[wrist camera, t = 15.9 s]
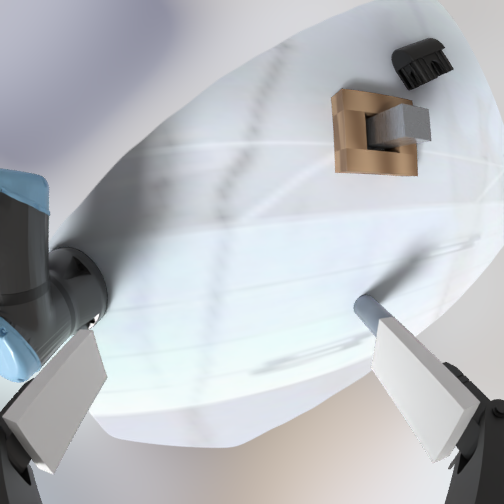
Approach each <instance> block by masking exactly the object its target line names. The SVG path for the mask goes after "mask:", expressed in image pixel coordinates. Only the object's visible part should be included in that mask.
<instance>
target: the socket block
mask: <svg viewBox="0 0 504 504" xmlns="http://www.w3.org/2000/svg"><path fill="white" fill-rule="evenodd" d="M331 102H332V115H333V130H334V150H335V173H359V174H378V175H393V176H418V167H417V145H416V144H411V145H405V146H400V147H395V148H389V149H384V151H376V150H367V138H366V123H365V120H366V119H368V118H371V117H373V116H375V115H377V114H379V113H381V112H384V111H386V110H388V109H390V108H393V107H395V106H397V105H400V104H407V105H412V106H413V102H412V100H408V99H403V98H398V97H393V96H388V95H382V94H377V93H371V92H364V91H357V90H350V89H341V90H340V91H338V92H337V93H336V94H335V95H334V96H333V97H332V98H331Z"/></svg>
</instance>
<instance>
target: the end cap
mask: <svg viewBox="0 0 504 504" xmlns="http://www.w3.org/2000/svg"><path fill="white" fill-rule="evenodd" d="M444 48H445V47H444V46H443V44H442V43H440V42H439V41H438V40H436V39H433V38H427V39H425V40H422V41H419V42H416V43H413V44H411V45H408V46H405V47H403V48H400V49H397V50H395V51H394V52H393V54H392V63H393V66H394V68H395V70H396V72H397V74H398V75H399V77H400V78H401V80H402V81H403V83H404V85H405V86H406V88H407V89H408V90H412V89H414V88H417V87H419V86H420V85H423V84H425V83H427V82H429V81H431V80H433V79H435V78H437V77H438V76H440V75H442V74H444V73H447V72H449V71H451V70H453V67H452V66H451V64H450V62H449V61H448V59H447V58H446V56H445V55H444V53H443V51H442V49H444Z"/></svg>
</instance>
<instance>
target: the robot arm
mask: <svg viewBox="0 0 504 504" xmlns="http://www.w3.org/2000/svg"><path fill="white" fill-rule="evenodd" d="M49 216H50V211H49V185H48V183H47V181H46V179H45V178H44V177H42V176H40V175H37V174H32V173H27V172H21V171H15V170H8V169H1V168H0V375H1V376H2V377H4V378H6V379H7V380H10V381H13V382H24V381H26V380H28V379H29V378H30V377H31V376H32V375H33V374H34V373H35V372H38V371H39V370H40V369H41V367H42V366H43V365H44V364H45V363H46V361H47V360H48V359H49V358H50V357H51V356H52V355H53V354H54V353H55V351H56V350H57V349H58V348H59V347H60V346H61V345H62V344H63V343H64V342H65V341H66V340H67V338H68V337H69V336H71V335H74V336H73V337H72V338H71V339H70V340H69V341H68V342H67V343H66V344H65V345H64V347H63V348H62V349H61V350H60V351H59V352H58V353H57V354H56V355H55V356H54V357H53V358H52V360H50V362H49V363H48V364H47V365H46V366H45V367H44V368H43V369H42V370H41V372H40V373H39V374H38V375H37V376H36V377H35V378H33V379H31V380H30V381H28V382H26V383H25V384H24V385H23V386H22V387H21V388H20V390H19V391H18V392H17V393H16V394H15V395H14V396H13V398H12V399H11V400H10V401H9V402H8V403H7V405H6V406H5V407H4V408H3V409H2V411H1V412H0V504H42V501H41V498H40V495H39V492H38V489H37V485H36V482H35V478H34V474H33V470H32V468H31V466H30V465H29V462H30V460H31V459H32V460H33V462H34V463H35V464H36V465H37V466H38V468H39V469H42V470H44V471H46V472H49V473H51V474H54V473H55V471H56V469H57V467H58V465H59V463H60V461H61V459H62V458H63V456H64V454H65V452H66V450H67V448H68V446H69V444H70V442H71V441H72V438H73V437H74V435H75V433H76V431H77V429H78V428H79V426H80V424H81V422H82V421H83V419H84V417H85V415H86V413H87V412H88V410H89V408H90V406H91V405H92V403H93V401H94V400H95V398H96V396H97V394H98V393H99V391H100V389H101V388H102V386H103V384H104V383H105V381H106V379H107V378H108V377H107V374H106V372H105V369H104V366H103V362H102V359H101V356H100V353H99V350H98V346H97V343H96V339H95V336H94V332H93V330H89V329H91V328H92V327H94V326H95V325H96V324H97V323H98V321H99V320H100V319H101V318H102V317H103V315H104V313H105V310H106V306H107V290H106V285H105V282H104V279H103V277H102V274H101V273H100V271H99V269H98V267H97V266H96V265H95V263H94V262H93V261H92V260H91V259H90V258H89V257H88V256H87V255H85V254H84V253H83V252H81V251H79V250H77V249H74V248H70V247H62V248H58V249H56V250H53V251H51V252H49V245H48V237H49V235H48V233H49ZM371 369H372V370H373V372H374V373H375V375H376V376H377V378H378V379H379V381H380V382H381V384H382V385H383V387H384V388H385V390H386V391H387V392H388V394H389V396H390V397H391V399H392V400H393V401H394V403H395V405H396V406H397V408H398V409H399V411H400V412H401V414H402V415H403V417H404V418H405V420H406V421H407V423H408V425H409V426H410V428H411V429H412V431H413V433H414V434H415V436H416V437H417V439H418V440H419V442H420V444H421V445H422V447H423V448H424V450H425V452H426V453H427V455H428V456H429V458H430V459H431V461H432V463H435V462H438V461H440V460H442V459H444V458H446V457H448V456H449V455H450V454H451V452H452V451H453V449H454V448H455V446H457V448H458V449H459V453H458V454H457V456H456V457H455V459H454V460H453V461H452V463H451V464H450V466H449V468H448V469H451V468H452V467H453V465H454V464H455V466H454V471H453V475H452V479H451V483H450V487H449V490H448V494H447V497H446V501H445V504H504V400H501V399H496V400H492V401H490V400H489V399H488V398H487V397H486V396H485V395H484V394H483V393H482V392H481V391H480V390H479V389H478V388H477V387H476V386H475V385H474V384H473V383H472V382H471V381H469V379H468V378H467V377H466V376H464V375H463V373H462V372H461V371H460V370H459V369H458V368H457V367H455V366H453V365H451V364H449V363H447V362H445V363H441V362H440V361H439V360H438V359H437V358H436V357H435V356H434V355H433V354H432V353H431V352H430V351H429V350H428V349H427V348H426V347H425V346H424V345H423V344H422V343H421V342H420V341H419V340H418V339H417V338H416V337H414V336H413V335H412V334H411V333H410V332H409V331H408V330H407V329H406V328H405V327H404V326H403V325H402V324H401V323H400V322H398V321H397V320H396V319H395V318H394V317H388V318H381V319H379V324H378V330H377V336H376V342H375V347H374V353H373V358H372V363H371Z"/></svg>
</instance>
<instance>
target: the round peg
mask: <svg viewBox="0 0 504 504" xmlns="http://www.w3.org/2000/svg"><path fill="white" fill-rule="evenodd" d="M354 312H355V313H356V314H357V316H358V317H359V318H360V319H361V320H362V321H363V323H364V324H365V325H366V326H367V327H368V328H369V330H370V331H371V332H372V333H373V334H374V335H375V337H376V336H377V330H378V324H379V319H381V318H388V317H393V316H392V315H391V314H390V313H389V312H388V311H387V310H386V309H385V308H384V307H382V306H381V305H380V304H379V303H378V302H377V301H376V300H375V299H374V298H373V297H371V296H370V295H363V296H361V297H359V298H358V299H357V300H356V302H355V304H354ZM394 318H395V317H394ZM395 319H396V318H395ZM396 320H397V319H396ZM397 321H398V320H397ZM398 322H399V321H398ZM409 332H410V331H409ZM410 333H411V332H410ZM411 334H412V333H411ZM412 335H413V334H412ZM413 336H414V335H413Z"/></svg>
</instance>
